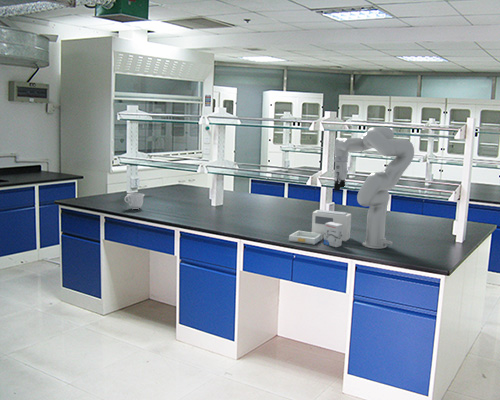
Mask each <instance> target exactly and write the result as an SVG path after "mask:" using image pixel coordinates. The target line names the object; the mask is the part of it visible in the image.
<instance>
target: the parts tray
mask: <svg viewBox="0 0 500 400" xmlns="http://www.w3.org/2000/svg"><path fill="white" fill-rule="evenodd" d="M322 240H324V238H323V234H320V233H313V232H312V231H303V230H297V231H295V232H293V233H290V234H288V241H289V242H295V243H301V244H308V245H316V244H318V243H319V242H321V241H322Z"/></svg>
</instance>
